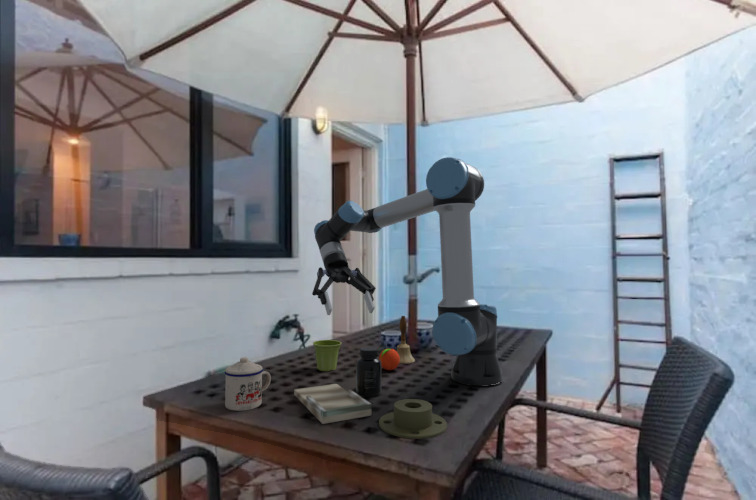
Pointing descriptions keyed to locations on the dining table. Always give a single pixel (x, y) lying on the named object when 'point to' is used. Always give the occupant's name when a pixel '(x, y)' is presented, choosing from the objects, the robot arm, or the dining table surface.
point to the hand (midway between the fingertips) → (351, 311)
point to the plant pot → (326, 354)
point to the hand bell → (404, 344)
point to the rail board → (333, 403)
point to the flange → (413, 420)
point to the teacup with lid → (244, 385)
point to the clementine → (389, 359)
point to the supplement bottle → (368, 373)
